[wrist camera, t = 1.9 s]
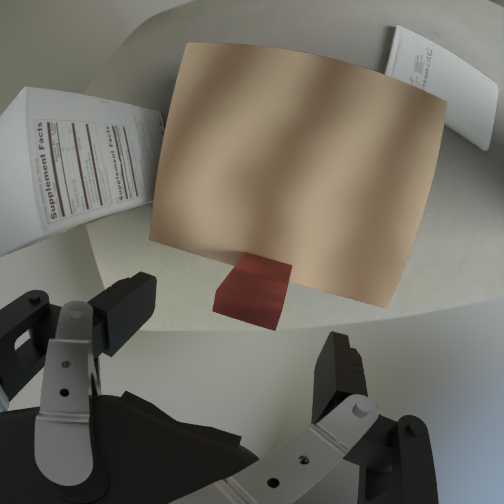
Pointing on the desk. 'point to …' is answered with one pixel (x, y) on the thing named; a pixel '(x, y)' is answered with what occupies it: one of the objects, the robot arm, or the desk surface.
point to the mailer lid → (294, 174)
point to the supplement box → (72, 163)
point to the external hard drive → (446, 84)
